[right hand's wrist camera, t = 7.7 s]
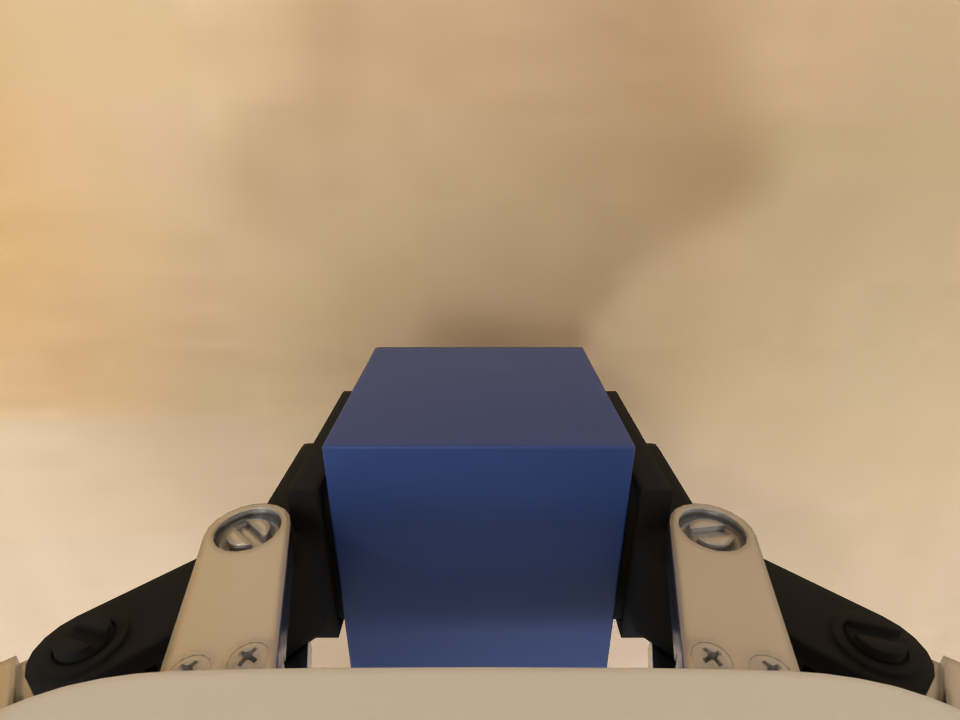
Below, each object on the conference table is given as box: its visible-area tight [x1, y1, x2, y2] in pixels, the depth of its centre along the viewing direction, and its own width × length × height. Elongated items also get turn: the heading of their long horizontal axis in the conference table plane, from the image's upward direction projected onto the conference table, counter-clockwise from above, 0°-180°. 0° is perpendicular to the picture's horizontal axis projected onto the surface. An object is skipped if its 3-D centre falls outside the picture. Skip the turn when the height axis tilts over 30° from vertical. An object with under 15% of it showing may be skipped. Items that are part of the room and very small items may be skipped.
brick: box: [322, 347, 635, 668], centre depth 11 cm, size 5×5×4 cm
